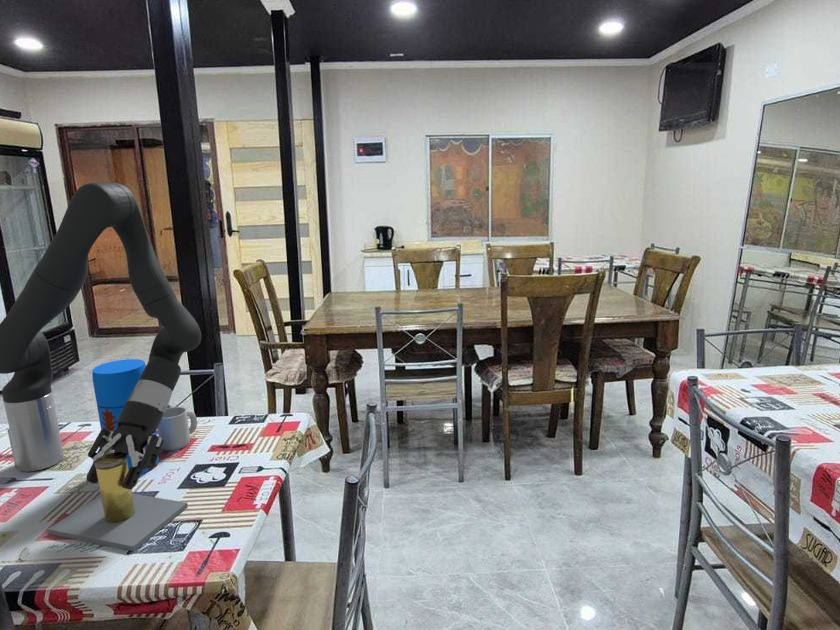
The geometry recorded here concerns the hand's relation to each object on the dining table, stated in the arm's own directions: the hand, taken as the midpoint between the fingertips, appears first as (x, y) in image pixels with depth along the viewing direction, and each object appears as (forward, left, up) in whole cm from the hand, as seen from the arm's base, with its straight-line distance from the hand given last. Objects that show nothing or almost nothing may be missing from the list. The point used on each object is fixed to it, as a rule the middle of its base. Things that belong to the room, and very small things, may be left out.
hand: (108, 485), depth 99 cm
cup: (-12, +32, -9) cm, 36 cm away
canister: (0, +1, -7) cm, 7 cm away
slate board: (0, +1, -8) cm, 9 cm away
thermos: (-14, +19, -9) cm, 25 cm away
